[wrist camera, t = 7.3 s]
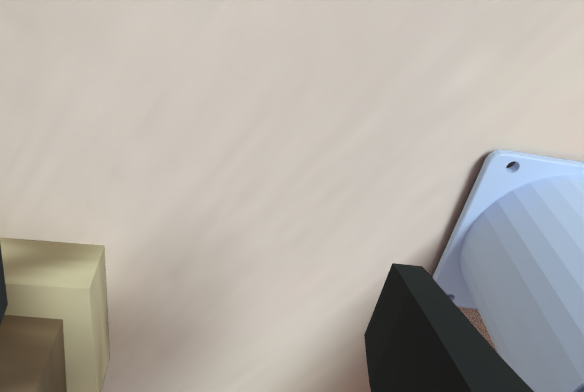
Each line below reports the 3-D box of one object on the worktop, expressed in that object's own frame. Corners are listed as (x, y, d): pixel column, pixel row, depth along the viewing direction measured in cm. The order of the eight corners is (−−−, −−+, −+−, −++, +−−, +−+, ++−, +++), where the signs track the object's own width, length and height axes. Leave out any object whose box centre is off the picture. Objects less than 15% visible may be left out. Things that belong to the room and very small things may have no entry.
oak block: (106, 239, 23) (89, 288, 21) (111, 350, 27) (97, 403, 25) (-72, 226, 22) (-112, 276, 20) (-41, 342, 26) (-71, 397, 24)
